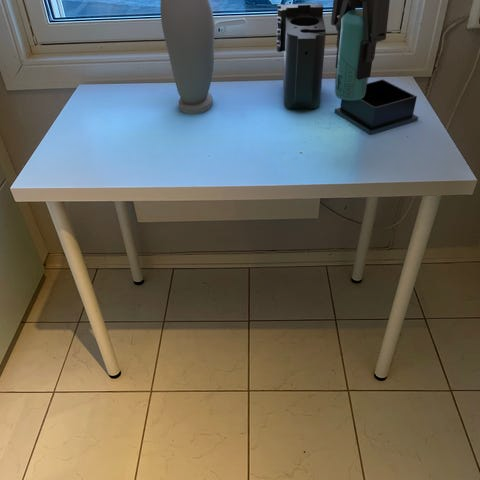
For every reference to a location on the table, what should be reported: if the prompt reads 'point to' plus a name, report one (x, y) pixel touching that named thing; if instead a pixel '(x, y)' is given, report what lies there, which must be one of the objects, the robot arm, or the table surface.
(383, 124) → the square planter
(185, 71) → the vase
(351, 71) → the beverage bottle
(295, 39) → the black machined bracket
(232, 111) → the table surface
